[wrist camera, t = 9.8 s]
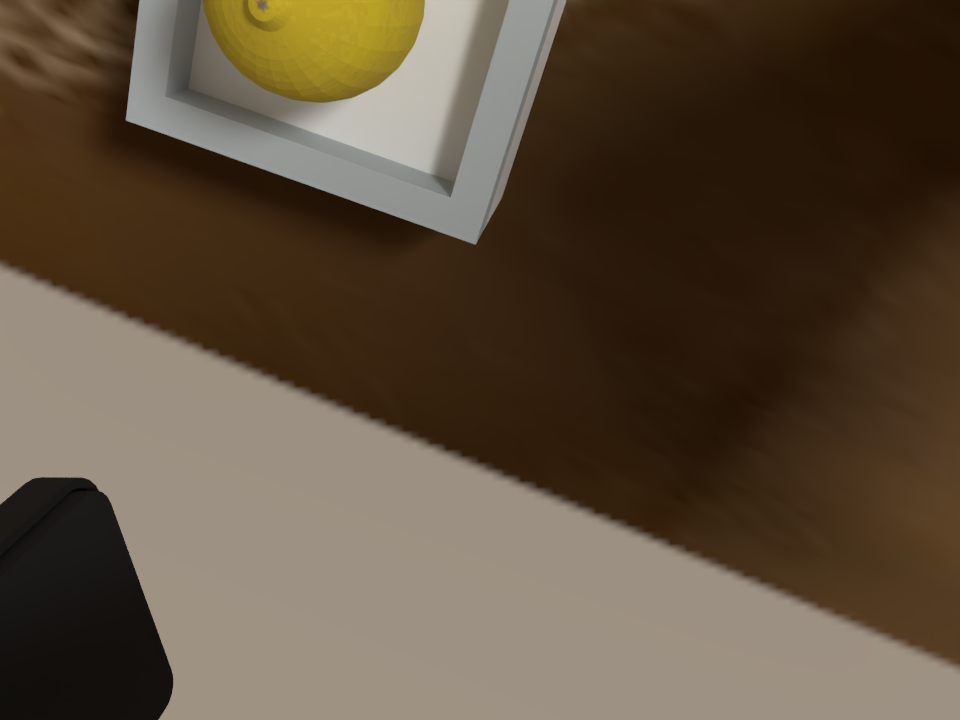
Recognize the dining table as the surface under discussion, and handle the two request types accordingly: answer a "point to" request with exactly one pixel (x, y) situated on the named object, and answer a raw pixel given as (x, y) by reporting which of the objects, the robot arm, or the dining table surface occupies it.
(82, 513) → the robot arm
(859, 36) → the dining table surface
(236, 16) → the lemon
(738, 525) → the dining table surface
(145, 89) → the tray
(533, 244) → the dining table surface
